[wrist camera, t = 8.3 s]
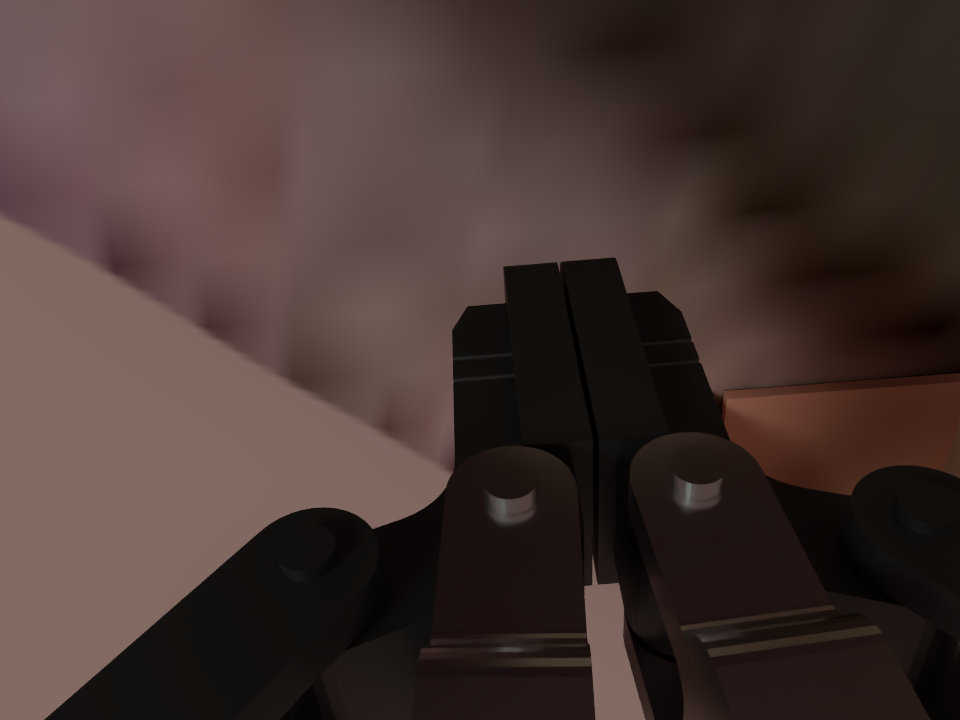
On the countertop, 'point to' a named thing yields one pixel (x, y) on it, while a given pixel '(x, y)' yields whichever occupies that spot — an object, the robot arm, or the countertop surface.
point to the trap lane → (847, 428)
